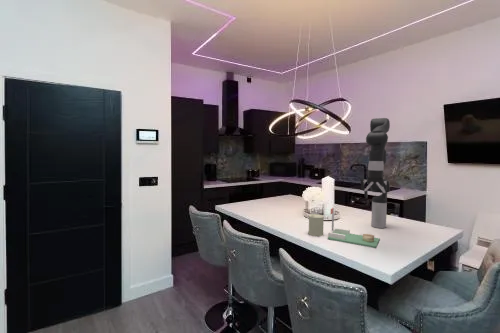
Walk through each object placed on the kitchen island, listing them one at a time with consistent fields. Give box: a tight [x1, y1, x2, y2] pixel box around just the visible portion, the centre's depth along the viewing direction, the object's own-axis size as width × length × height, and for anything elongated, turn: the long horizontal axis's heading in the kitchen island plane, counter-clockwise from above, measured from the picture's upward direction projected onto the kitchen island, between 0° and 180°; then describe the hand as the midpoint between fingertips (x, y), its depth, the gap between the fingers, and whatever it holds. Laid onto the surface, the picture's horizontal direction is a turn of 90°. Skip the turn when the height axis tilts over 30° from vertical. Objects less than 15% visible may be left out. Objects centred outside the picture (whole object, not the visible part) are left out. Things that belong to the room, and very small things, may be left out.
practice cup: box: [327, 207, 351, 240], centre depth 160 cm, size 13×10×16 cm
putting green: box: [327, 233, 380, 249], centre depth 157 cm, size 16×26×1 cm, turn 58°
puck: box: [362, 233, 375, 242], centre depth 152 cm, size 6×6×3 cm
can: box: [307, 213, 325, 237], centre depth 166 cm, size 9×9×12 cm
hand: (374, 198), depth 146 cm, fingers open, 8 cm apart
